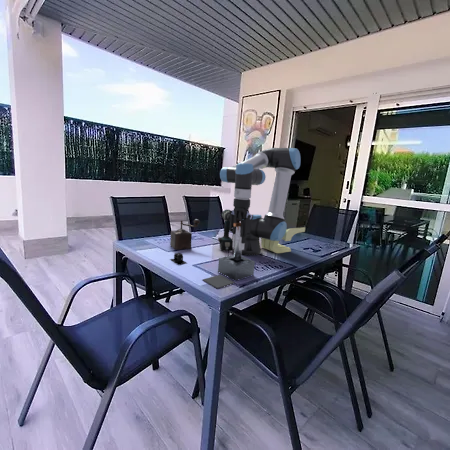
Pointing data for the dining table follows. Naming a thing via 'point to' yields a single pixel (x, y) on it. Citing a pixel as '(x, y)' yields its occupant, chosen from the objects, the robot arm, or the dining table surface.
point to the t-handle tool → (237, 242)
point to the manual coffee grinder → (182, 237)
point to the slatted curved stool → (274, 245)
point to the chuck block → (236, 267)
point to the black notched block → (178, 259)
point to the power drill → (226, 233)
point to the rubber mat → (218, 281)
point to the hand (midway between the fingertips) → (238, 248)
